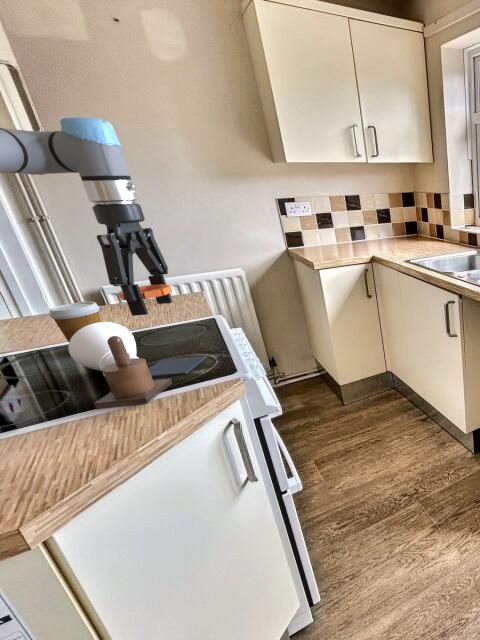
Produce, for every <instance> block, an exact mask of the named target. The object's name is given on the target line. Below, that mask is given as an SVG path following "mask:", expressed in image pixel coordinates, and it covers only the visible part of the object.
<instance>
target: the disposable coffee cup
mask: <svg viewBox="0 0 480 640" xmlns="http://www.w3.org/2000/svg"><path fill="white" fill-rule="evenodd" d="M100 308H101V307H100V306H99V305H98V304H97V303H96V302H95V301H79V302H71V303H66V304H60V305H58V306H54V307H51V308H50V309H49V314H48V316H49V317H51V319H52V320H53V321H54V322H55V324H56V325H57V327H58V328H59V330H60V331H61V333H62V334H63V336H64V338H65V340H67V343H69V342H70V340H71V338H72V336H73V335H74V334H75V333H76V332H77V331H79V330H80V329H82V328H83V327H85V326H88V325H90V324H94V323H100V322H102V319H101V314H100Z"/></svg>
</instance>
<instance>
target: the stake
mask: <svg viewBox="0 0 480 640" xmlns="http://www.w3.org/2000/svg"><path fill="white" fill-rule="evenodd" d="M107 343H108V345H109V348H110V350H111V353H112V355H113V357H114V360H115V363H112V364H109V365H107V366H105V367H104V368H103V369H102V370H103V371H102V374H103V373H104V375H105V376H104V375H103V376H104V378H105V380H106V382H107V384H108V387H109V390H110V392H109V393H107V394H106V395H104V396H103V397H101V398H100V399H98V400H96V401H95V402H93V405H94V408H95V409H97V410H98V409H105V408H104V407H107V408H114V407H113V406H116V407H124V406H125V405H126V406H134V404H136V405H142V404H141V403H145V404H149V403H150V402H151V401H152V400H153V399H152V398H153V397H155V396H156V395H157V396H159V395H160V394H161V393H162V392H164V391H166V389H168V387H170V386H172V384H173V380H172V378H162V379H154V378H152V376H151V374H150V371H149V368H150V367H148V366H149V365H148V364H147V361H146V359H145V358H142V357H138V358H133V359H130V358H129V356H128V353H127V350H126V348H125V345H124V343H123V340H122V338H120V337H119V336H111V337H110V338H108V340H107ZM153 379H154V380H153ZM159 393H160V394H159ZM158 394H159V395H158ZM157 396H156V397H157ZM156 397H155V398H156ZM151 399H152V400H151ZM150 400H151V401H150ZM149 401H150V402H149ZM148 402H149V403H148Z"/></svg>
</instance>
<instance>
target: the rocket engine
mask: <svg viewBox="0 0 480 640" xmlns="http://www.w3.org/2000/svg"><path fill="white" fill-rule="evenodd" d="M111 336H119V337H120V338H122V340H123V343H124V345H125V348H126V350H127V353H128V356H129V358H130V359H133V358H139V357H138V356H137V343H136V340H135V337H134V335H133V333H132V332H131V331H130V330H129V329H128V328H127V327H125V326H124V325H122V324H119V323H116V322H111V321H101V322H100V323H94V324H90V325H88V326H85V327H83V328H82V329H80V330H79V331H77V332H76V333H75V334H74V335H73V336H72V338H71V340H70V342H68V347H67V348H68V353H69V355H70V357H71V359H73V361H74V362H76V363H77V364H78V365H81V366H83V367H86V368H89V369H90V370H91V369H92V370H96V371H99V372H102V374H103V377H105V375H104V373H103V370H102V369H103V368H104V367H105V366H107V365H109V364H112V363H115V360H114V357H113V355H112V353H111V350H110V348H109V345H108V343H107V340H108V338H110V337H111Z"/></svg>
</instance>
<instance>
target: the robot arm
mask: <svg viewBox="0 0 480 640" xmlns="http://www.w3.org/2000/svg"><path fill="white" fill-rule="evenodd" d="M59 123H60V126H61V128H60V130H55V131H52V130H51V131H50V130H49V131H48V130H47V131H46V130H44V131H43V130H42V131H38V130H37V131H36V130H25V129H15V128H5V127H0V174H21V175H33V176H34V175H35V176H37V175H39V176H43V175H51V174H73V173H74V174H79V177H80V179H81V182H82V184H83V188H84V190H85V193H86V196H87V198H88V201H89V202H90V203H94V204H93V205H92V206H91V209H92V211H93V214H94V216H95V220H96V222H97V223H98V224H100V225H105V227H106V233H105V234H97V235H96V240H97V241H98V244H99V245H100V248H101V251H102V256H103V260H104V265H105V270H106V275H107V279H108V283H109V284H110V285H111V286H113V287H119V288H120V289H121V291H122V292H123V294H124V296H125V299H126V300H125V301H126V304H127V307H128V309H129V312H130V314H131V316H133V317H136V316H146V315H149V311H148V309H147V306H146V303H145V299H143V297H142V294H141V292H140V289H139V287H140V285H139V284H138V283H135V278H134V277H135V275H134V274H135V273H134V254H135V255H136V256H137V258H138V259H139V260H140V262H141V264H142V265H143V266H144V267H145V269H146V270H147V272H148V273H149V275H148V276H147V277H148V280H149V283H150V285H159V284H163V285H164V284H166V285H167V282H166V279H165V277H164V275H168V274H169V271H168V270H169V267H168V264H167V261H166V260H165V257H164V256H163V253H162V251H161V249H160V247H159V245H158V243H157V241H156V239H155V236H154V232H153V229H152V228H151V227H142V225H141V224H140V223H141V222H144V221H146V219H145V215H144V212H143V209H142V206H141V204H139V203H136V201H138V195H137V193H136V186H135V185H134V184H133V181H132V177H131V175H130V173H129V170H128V167H127V164H126V160H125V157H124V153H123V150H122V149H123V148H122V143H120V141H119V138H118V136H117V133H116V131H115V128H114V126H113V125H112V124H111V123H110V122H109V121H108V120H105V119H102V118H94V117H78V116H77V117H76V116H75V117H74V116H73V117H72V116H71V117H63V118H61V119H60V121H59ZM154 299H155V301H156V303H157V305H164V304H172V303H173V300H172V297H171V293H169V294H166V295H162V296H159V297H154Z"/></svg>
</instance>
